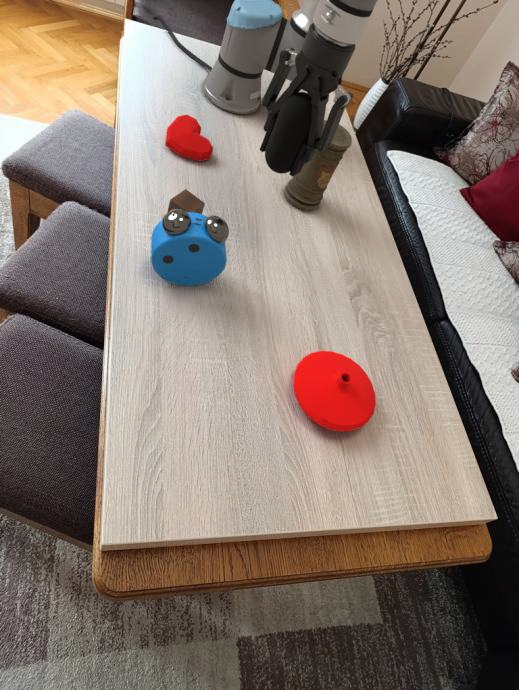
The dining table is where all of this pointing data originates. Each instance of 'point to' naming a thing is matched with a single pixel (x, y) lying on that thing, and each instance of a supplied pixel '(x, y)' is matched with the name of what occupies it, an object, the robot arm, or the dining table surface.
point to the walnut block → (186, 203)
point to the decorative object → (289, 133)
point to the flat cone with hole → (334, 391)
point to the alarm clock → (189, 247)
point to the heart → (188, 139)
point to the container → (317, 173)
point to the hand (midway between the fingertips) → (280, 160)
